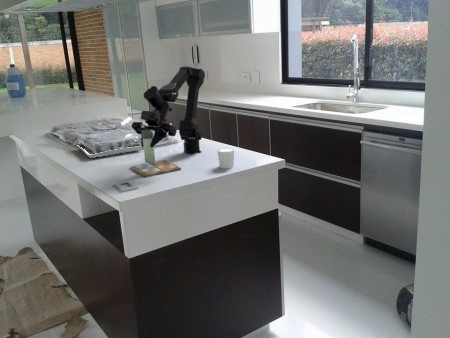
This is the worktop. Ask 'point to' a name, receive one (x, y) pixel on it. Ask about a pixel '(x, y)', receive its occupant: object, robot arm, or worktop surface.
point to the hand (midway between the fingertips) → (146, 146)
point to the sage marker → (148, 145)
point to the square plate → (111, 151)
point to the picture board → (155, 168)
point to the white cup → (226, 157)
